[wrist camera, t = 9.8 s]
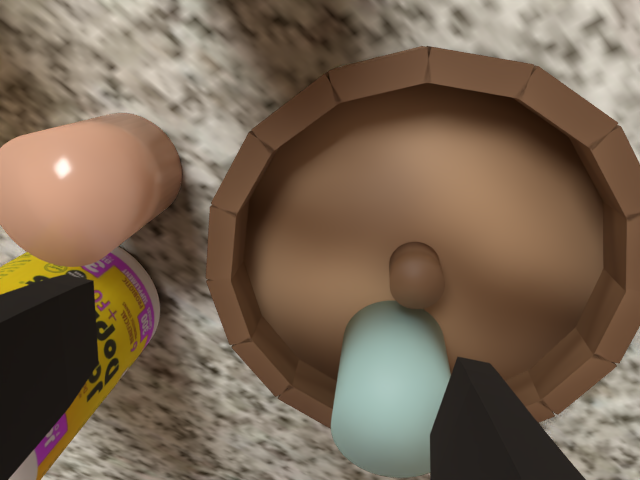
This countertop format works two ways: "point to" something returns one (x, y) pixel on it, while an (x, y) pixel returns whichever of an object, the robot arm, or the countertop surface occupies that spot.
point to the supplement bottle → (112, 337)
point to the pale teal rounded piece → (389, 389)
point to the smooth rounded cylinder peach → (86, 186)
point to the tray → (432, 225)
